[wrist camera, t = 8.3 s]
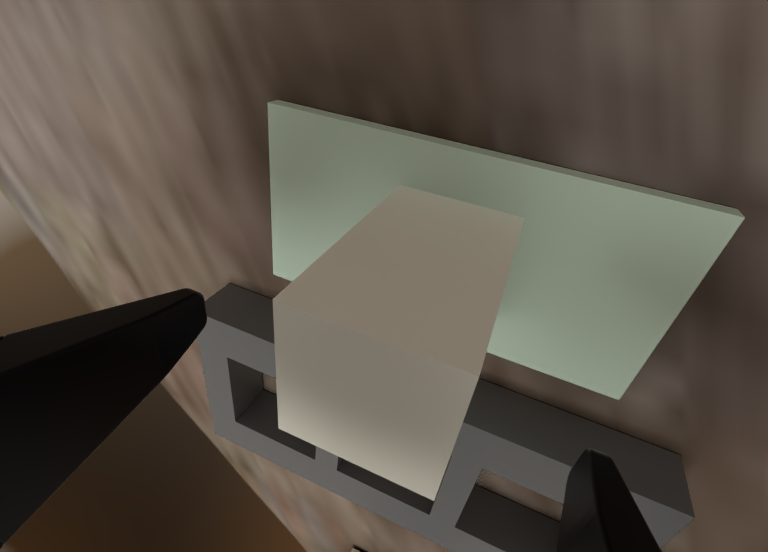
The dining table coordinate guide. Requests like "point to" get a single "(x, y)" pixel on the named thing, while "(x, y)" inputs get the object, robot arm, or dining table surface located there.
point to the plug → (393, 334)
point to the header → (469, 456)
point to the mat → (535, 245)
